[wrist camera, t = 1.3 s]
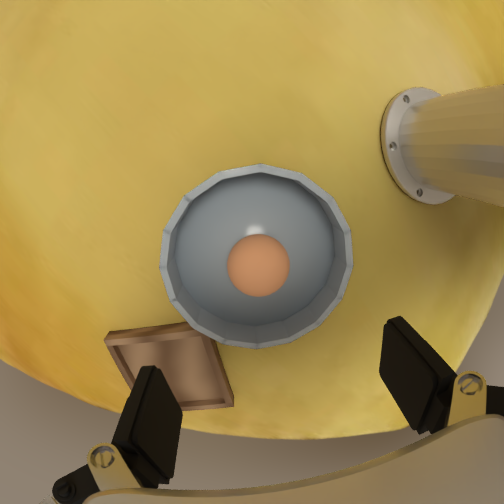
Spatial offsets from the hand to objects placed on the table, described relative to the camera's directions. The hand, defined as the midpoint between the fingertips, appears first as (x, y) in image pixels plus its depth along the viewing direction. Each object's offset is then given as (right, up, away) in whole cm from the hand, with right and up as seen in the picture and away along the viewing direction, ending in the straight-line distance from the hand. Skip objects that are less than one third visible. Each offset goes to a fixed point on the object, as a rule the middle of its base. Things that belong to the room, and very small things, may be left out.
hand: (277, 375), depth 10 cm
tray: (-10, -9, +19) cm, 23 cm away
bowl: (-1, +5, +15) cm, 16 cm away
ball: (-1, +5, +14) cm, 15 cm away
